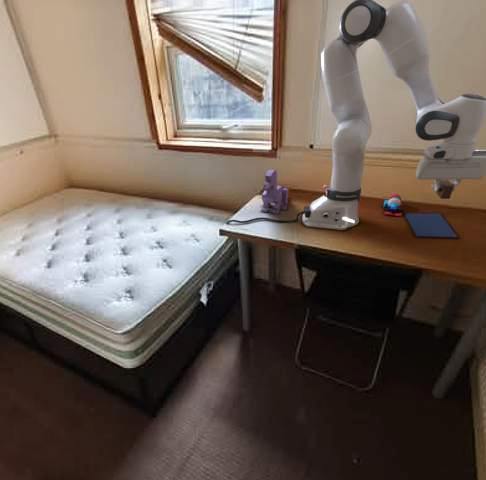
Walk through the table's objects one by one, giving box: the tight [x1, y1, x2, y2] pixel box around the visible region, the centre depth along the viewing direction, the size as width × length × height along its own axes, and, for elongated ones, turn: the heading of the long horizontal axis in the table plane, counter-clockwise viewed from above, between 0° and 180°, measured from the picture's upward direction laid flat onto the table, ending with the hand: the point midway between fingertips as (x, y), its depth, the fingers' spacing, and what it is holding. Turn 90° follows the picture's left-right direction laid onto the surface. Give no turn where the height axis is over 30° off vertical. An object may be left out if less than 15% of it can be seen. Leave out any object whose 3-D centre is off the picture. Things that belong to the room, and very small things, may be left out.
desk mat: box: [404, 212, 459, 239], centre depth 126 cm, size 13×20×1 cm, turn 166°
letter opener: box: [430, 179, 454, 200], centre depth 118 cm, size 13×3×5 cm, turn 167°
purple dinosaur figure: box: [260, 169, 290, 215], centre depth 149 cm, size 12×25×19 cm, turn 149°
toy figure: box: [383, 193, 405, 217], centre depth 140 cm, size 8×5×15 cm
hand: (443, 190), depth 115 cm, fingers closed on letter opener, 2 cm apart
